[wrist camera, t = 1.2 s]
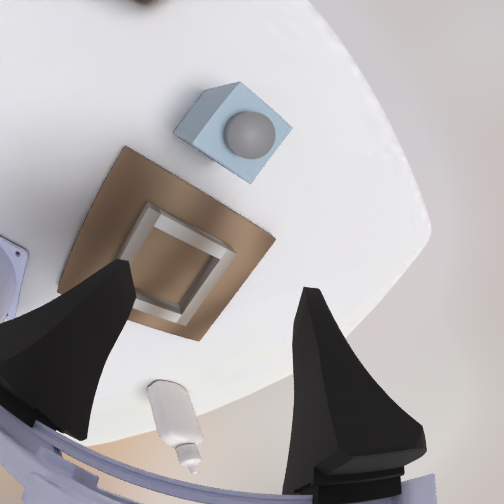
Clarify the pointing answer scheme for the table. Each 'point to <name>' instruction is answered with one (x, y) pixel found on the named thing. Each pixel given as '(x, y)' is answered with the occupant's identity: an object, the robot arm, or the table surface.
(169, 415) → the eye dropper bottle
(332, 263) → the table surface
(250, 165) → the peg
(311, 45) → the table surface
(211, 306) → the dock
